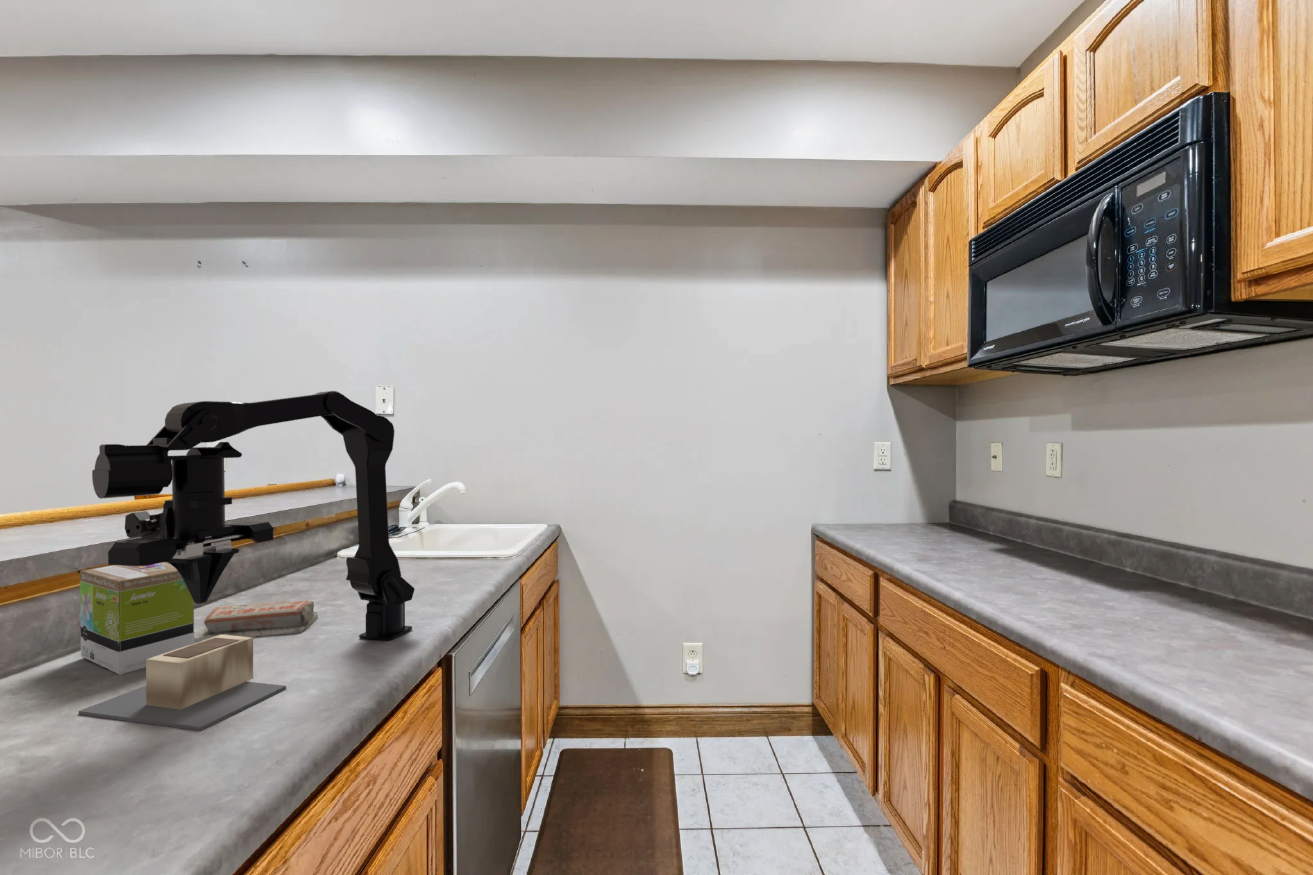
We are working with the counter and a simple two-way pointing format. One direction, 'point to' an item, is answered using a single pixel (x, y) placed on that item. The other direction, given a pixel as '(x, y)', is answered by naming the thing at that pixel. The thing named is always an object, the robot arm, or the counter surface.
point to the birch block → (198, 671)
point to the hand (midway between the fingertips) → (200, 602)
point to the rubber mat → (190, 717)
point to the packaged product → (258, 620)
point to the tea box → (133, 614)
